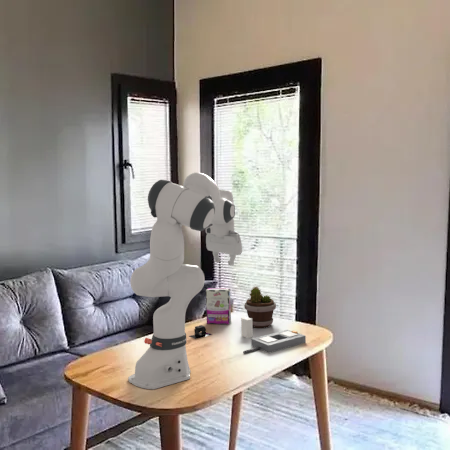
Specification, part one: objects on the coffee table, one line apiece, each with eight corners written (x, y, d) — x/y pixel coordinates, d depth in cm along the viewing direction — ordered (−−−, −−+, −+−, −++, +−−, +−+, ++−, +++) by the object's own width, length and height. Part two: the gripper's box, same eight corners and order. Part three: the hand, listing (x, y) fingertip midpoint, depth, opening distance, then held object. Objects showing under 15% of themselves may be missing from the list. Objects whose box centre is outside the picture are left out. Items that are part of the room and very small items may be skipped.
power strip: (252, 357, 202) (252, 348, 202) (234, 350, 211) (234, 341, 210) (305, 342, 219) (305, 333, 218) (287, 336, 227) (287, 328, 227)
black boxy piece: (206, 332, 238) (206, 322, 238) (216, 335, 232) (216, 325, 232) (184, 337, 230) (184, 327, 230) (194, 341, 224) (194, 331, 224)
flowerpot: (259, 319, 256) (258, 278, 254) (283, 325, 244) (282, 282, 242) (237, 325, 246) (237, 283, 244) (261, 332, 235) (261, 287, 233)
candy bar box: (231, 321, 252) (230, 288, 250) (229, 324, 247) (229, 290, 246) (208, 321, 254) (207, 287, 252) (206, 323, 249) (205, 289, 247)
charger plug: (247, 338, 226) (246, 320, 225) (241, 336, 229) (241, 318, 229) (252, 336, 228) (252, 318, 227) (246, 334, 231) (246, 316, 230)
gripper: (245, 231, 206) (246, 266, 207) (215, 227, 222) (216, 259, 224) (232, 232, 202) (233, 268, 203) (203, 228, 219) (203, 261, 220)
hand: (224, 263), depth 214 cm, fingers open, 8 cm apart
